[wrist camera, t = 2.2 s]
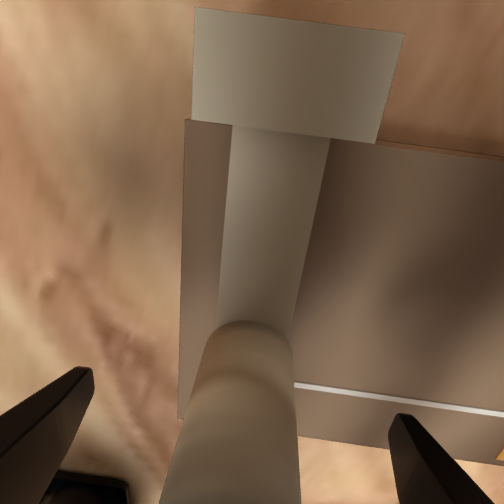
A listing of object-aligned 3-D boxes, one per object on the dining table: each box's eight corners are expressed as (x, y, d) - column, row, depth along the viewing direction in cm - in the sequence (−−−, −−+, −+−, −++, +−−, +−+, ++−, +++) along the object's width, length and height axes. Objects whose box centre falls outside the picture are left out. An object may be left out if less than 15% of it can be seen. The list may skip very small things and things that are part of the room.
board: (187, 386, 18) (177, 419, 16) (198, 116, 12) (184, 119, 10) (547, 438, 18) (579, 478, 16) (747, 189, 12) (836, 206, 10)
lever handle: (207, 352, 16) (136, 604, 8) (230, 45, 11) (69, -133, 2) (285, 363, 16) (292, 629, 8) (350, 61, 11) (601, -69, 2)
